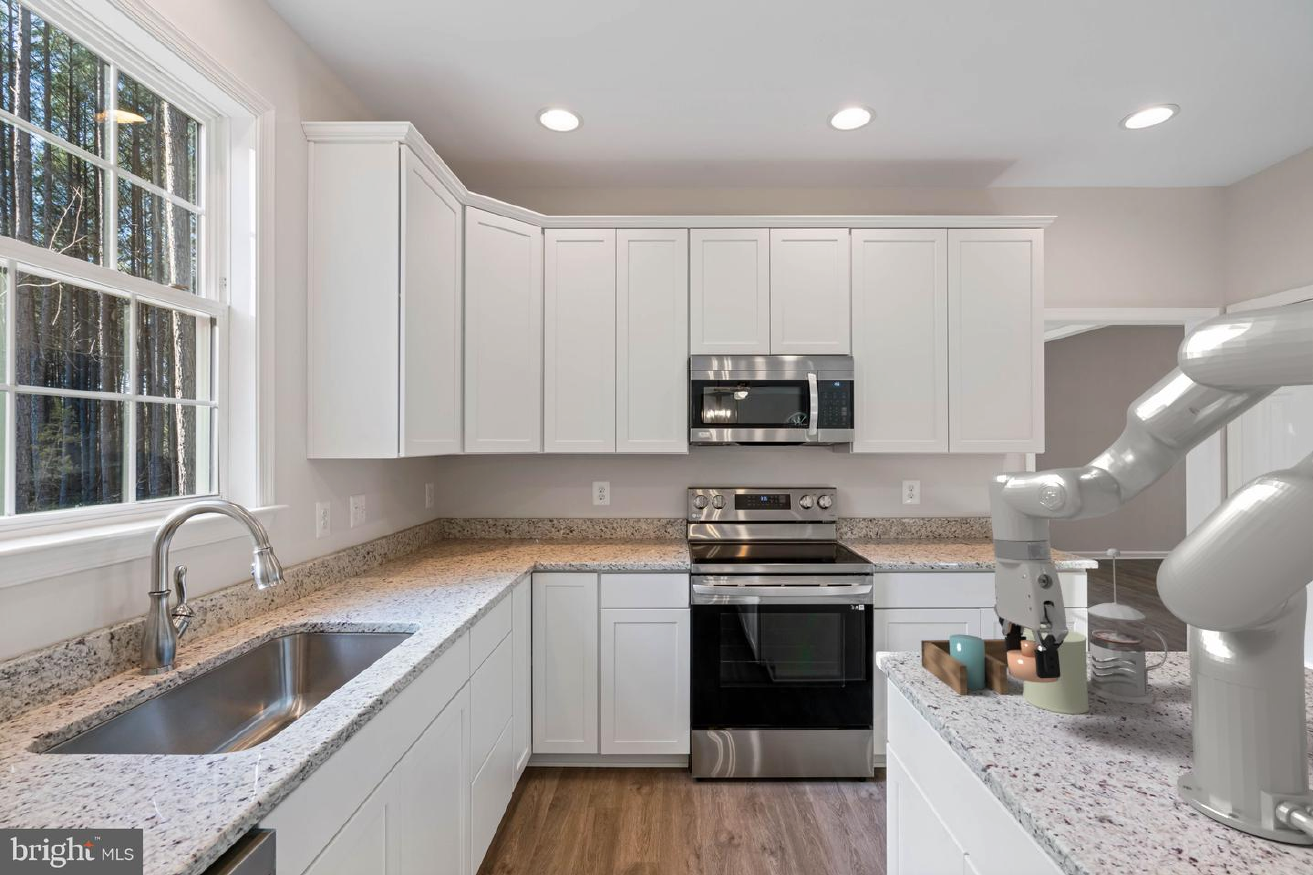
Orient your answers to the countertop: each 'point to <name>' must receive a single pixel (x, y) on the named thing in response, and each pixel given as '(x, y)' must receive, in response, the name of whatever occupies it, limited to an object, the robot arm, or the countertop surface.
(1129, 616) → the french press
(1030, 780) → the countertop surface
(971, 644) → the jar
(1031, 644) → the lid
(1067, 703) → the can
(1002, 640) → the caddy
